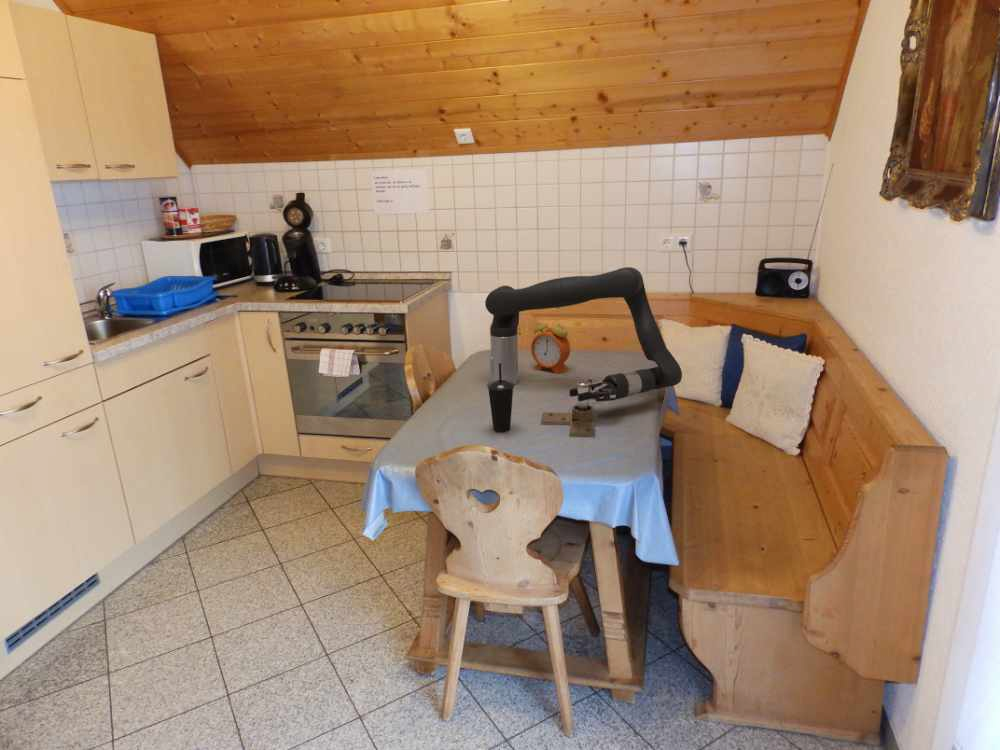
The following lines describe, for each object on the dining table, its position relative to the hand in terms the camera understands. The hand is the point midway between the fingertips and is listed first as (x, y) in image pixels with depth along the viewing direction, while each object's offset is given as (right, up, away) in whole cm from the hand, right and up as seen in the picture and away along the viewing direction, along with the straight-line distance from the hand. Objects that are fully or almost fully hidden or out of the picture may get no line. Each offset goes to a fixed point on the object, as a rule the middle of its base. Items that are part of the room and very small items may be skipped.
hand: (574, 395), depth 196 cm
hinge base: (-2, -9, 0) cm, 9 cm away
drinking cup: (-21, -10, -1) cm, 23 cm away
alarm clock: (-3, +8, +51) cm, 51 cm away
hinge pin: (+3, -8, +4) cm, 9 cm away
